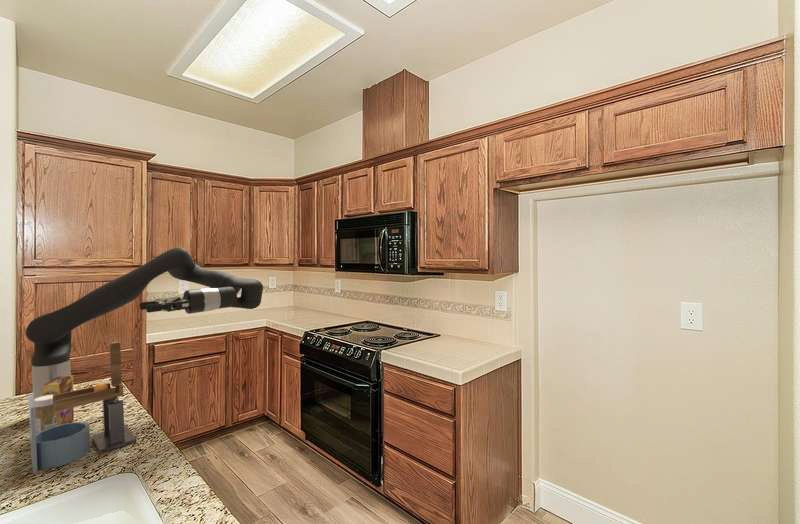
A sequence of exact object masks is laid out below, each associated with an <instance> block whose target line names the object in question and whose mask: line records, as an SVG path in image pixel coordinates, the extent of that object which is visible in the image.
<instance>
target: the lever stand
mask: <svg viewBox="0 0 800 524" xmlns="http://www.w3.org/2000/svg"><path fill="white" fill-rule="evenodd" d="M112 401H113V402H112ZM112 401H111V400H110V399H106V400H102V418H103V419H102V420H103V421H102V422H103V431H102V432H99V433H95V434H92V435H91V437H92V438H91V439H92V440H93V441H92V442H93V443H94V445H95V447H96V449H97V451H98V453H99V454H102V455H103V454H105V453H107V452H111V451H113V450H118V449H120V448H123V447H127V446H129V445H133V444H134V443H137V438H136V436H135V435H134V434H133V432H132V430H131V429H130V428H129V427H128V425H125V415H124V413H125V411H124V401H123V400H122V399H121V400H120V399H119V397H118V398H113V400H112Z"/></svg>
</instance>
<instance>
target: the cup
mask: <svg viewBox="0 0 800 524" xmlns="http://www.w3.org/2000/svg"><path fill="white" fill-rule="evenodd" d="M27 398H28V399H27V400H28V401H27V402H28V418H29V440H30V459H31V467H32V473H33V475H36V474H38V469H39V470H46V469H52V468H53V469H54V468H58V467H60V466H64V465H67V464H70V463H74V462H75V461H78V460H79V459H81V458H83V457H85V456H86V455H87V454H88V453H89V452H90V451H91V435H90V434H91V432H90V425H89V423H88V422H86V421H85V422H83V421H76V422H75V421H74V422H73V423H66V424H62V425H58V426H54V427H51V428H48V429H46V430H43V431H41V432H38V433H37V434H36V427H35V407H34V402H33V395H28V396H27Z"/></svg>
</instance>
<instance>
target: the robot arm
mask: <svg viewBox="0 0 800 524" xmlns="http://www.w3.org/2000/svg"><path fill="white" fill-rule="evenodd" d="M164 273H168V274H169V275H170V276H171V277H172V278H174V279H177V280H181V281H185V282H191V283H194V284H198V285H202V286H205V288H196V289H187V290H184V293H183V296H182V297H181V296H172V297H164V298H156V299H154V300H151V301H142V302H139V305H138V307H139V310H141V311H142V310H146V313H150V314H151V313H155V312H168V313H169V312H174V311H175V312H176V311H181V310H182V311H183V310H184V311H185V313H186V314H197V313H204V312H205V313H206V312H210V311H211V312H212V311H215V310H219V309H227V308H235V309H236V308H237V309H244V310H245V309H246V310H254V309H257V308H258V307H259V306H260V305H261V303H262V297H263V291H264V284H263V283H262V281H260V280H258V279H254V278H244V277H238V276H235V275H232V274H230V273H228V272H225V271H221V270H209V269H205V268H203V267H201V266H200V265H198V264H197V263H196V262H195V261H194V259H193V257H192V255H190V253H189V252H188V251H187V249H185V248H183V247H173V248H171V249H167V250H166V251H164V252H163V253H161V254H159V255H157V256H156V257H154V258H152V259H151V260H148V261H147V262H145V263H144V264H143V265H142V264H141V265H140V266H138V267H137V268H135V269H133V270H131V271H130V272H126V274H124V275H121V276H119V277H117V278H114V279H112V280H111V281H108V282H106V283H105V284H103V285H101V286H98V287H97V288H95V289H93V290H92V291H90V292H88V293H87V294H85V295H84V296H81V297H80V298H78V299H77V300H75V301H74V302H72V303H70V304H69V305H66V306H64V307H61V308H59V309H57V310H54V311H52V312H48V313H45V314H42V315H39V316H38V317H35V318H33V320H31V321H30V322H29V323H28V325H27V327H26V329H25V336H26V338H27V339H28V340H29V341H30V342H31V343H34V349H33V353H32V356H31V358H30V359H31V360H30V361H31V375H32V376H31V378H32V382H31V383H32V398H33V402H34V400H35V399H36V398H38V397H41V396H43V388H42V386H43V385H45V384H46V383H48V382H50V381H51V380H53V379H55V378H56V377H59V376H66V375H72V374H71V351H72V331H73V330H74V329H76V328H78V327H80V326H82V325H84V324H85V323H87V322H89V321H92V320H94V319H97V318H99V317H102V316H104V315H107V314H109V313H111V312H113V311H115V310H118V309H120V308H122V307H123V306H126V305H127V304H129V303H131V302H133V301H135V300H136V299H137V298H138V297H140V295H142V293H143V292H144V290H145V289H146V288H147V286H149V284H150V283H151V282H152V281H153V280H155V279H156V278H158V277H159V276H161V275H163V274H164ZM206 287H207V288H206ZM240 291H241V292H240ZM239 292H240V296H238V294H239Z"/></svg>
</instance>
